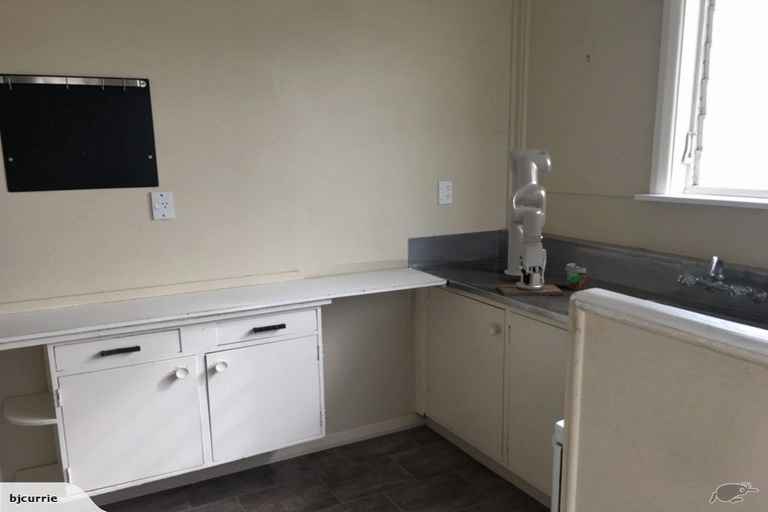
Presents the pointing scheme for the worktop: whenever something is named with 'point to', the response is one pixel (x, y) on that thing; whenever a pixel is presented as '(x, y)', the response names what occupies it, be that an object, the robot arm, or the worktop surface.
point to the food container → (575, 276)
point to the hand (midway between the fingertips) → (529, 282)
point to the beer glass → (542, 267)
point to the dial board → (514, 291)
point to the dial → (530, 282)
